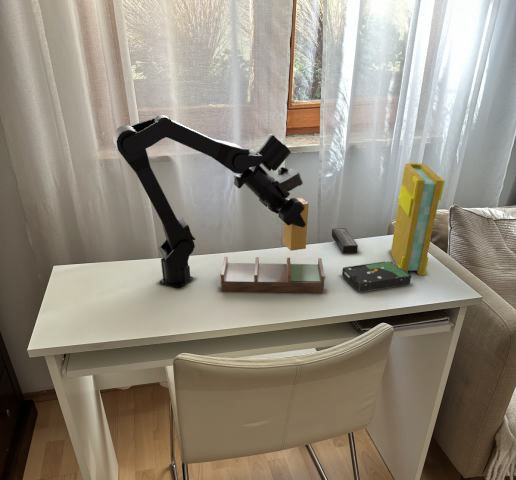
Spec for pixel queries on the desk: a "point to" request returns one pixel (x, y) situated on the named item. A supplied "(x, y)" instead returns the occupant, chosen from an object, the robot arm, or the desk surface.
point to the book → (416, 217)
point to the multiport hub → (344, 240)
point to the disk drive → (375, 276)
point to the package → (296, 231)
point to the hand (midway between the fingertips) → (300, 222)
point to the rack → (272, 277)
